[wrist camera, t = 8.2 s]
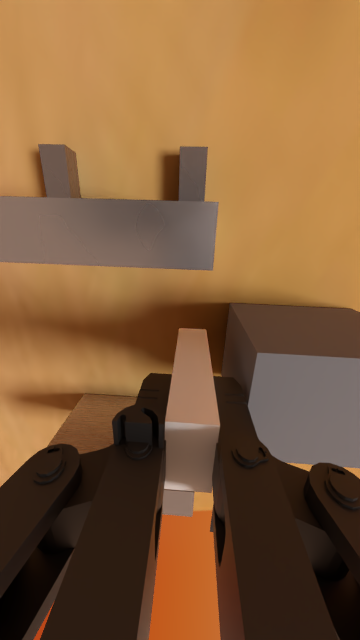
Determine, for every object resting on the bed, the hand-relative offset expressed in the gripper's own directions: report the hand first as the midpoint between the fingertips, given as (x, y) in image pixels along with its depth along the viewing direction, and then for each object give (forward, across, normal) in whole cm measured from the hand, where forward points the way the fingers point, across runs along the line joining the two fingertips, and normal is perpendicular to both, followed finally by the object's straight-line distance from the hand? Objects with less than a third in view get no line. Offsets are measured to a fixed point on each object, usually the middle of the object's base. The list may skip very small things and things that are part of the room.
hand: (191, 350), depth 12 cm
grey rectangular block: (+2, +6, 0) cm, 6 cm away
